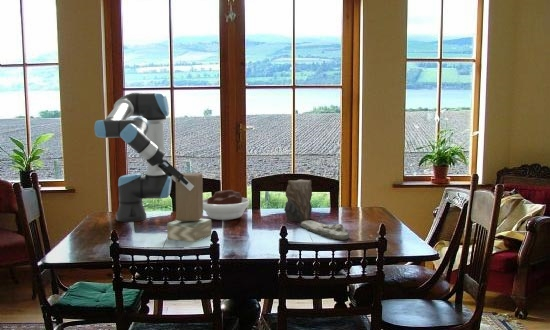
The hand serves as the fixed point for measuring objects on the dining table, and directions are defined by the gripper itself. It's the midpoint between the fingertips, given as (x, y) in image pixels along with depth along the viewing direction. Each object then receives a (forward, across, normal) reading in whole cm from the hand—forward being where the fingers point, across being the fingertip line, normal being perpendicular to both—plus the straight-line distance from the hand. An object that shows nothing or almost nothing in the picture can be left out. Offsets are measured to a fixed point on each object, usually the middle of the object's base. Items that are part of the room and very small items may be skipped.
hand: (187, 186), depth 240 cm
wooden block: (+11, 0, -10) cm, 15 cm away
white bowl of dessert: (+36, -29, +4) cm, 47 cm away
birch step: (+16, 0, -16) cm, 23 cm away
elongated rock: (+56, +22, +24) cm, 65 cm away
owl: (+59, -7, +27) cm, 65 cm away
